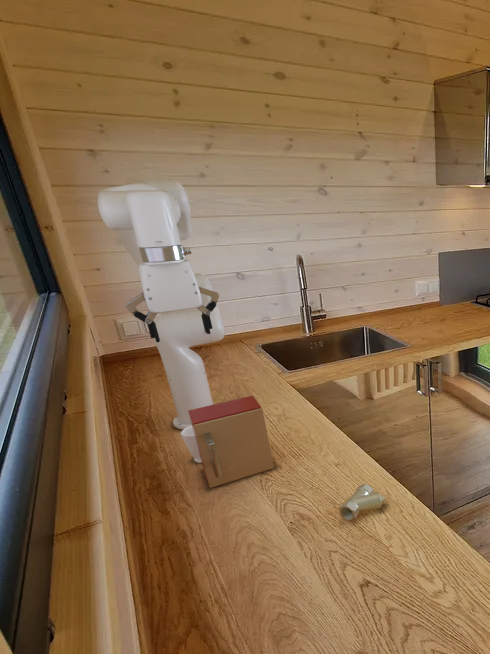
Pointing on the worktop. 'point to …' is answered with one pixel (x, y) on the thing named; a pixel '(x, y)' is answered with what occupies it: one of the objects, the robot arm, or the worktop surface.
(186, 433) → the cup
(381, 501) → the pipe fitting
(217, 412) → the valve cabinet
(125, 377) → the worktop surface
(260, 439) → the cabinet door
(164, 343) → the robot arm
